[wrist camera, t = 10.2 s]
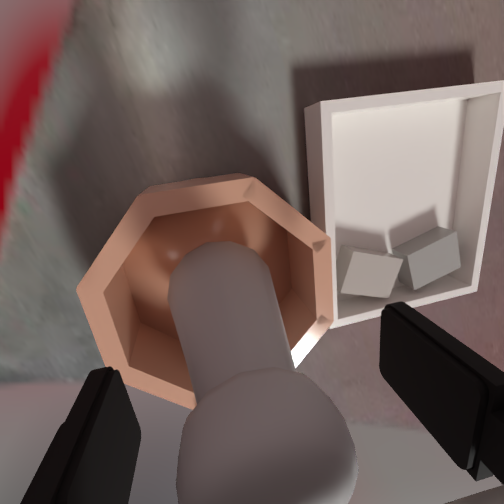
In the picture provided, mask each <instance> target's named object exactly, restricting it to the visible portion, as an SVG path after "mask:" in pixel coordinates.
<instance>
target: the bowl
mask: <svg viewBox="0 0 504 504" xmlns="http://www.w3.org/2000/svg"><path fill="white" fill-rule="evenodd" d="M221 241H232V242H234V243H237V244H240V245H243V246H246V247H248V248H251V249H253V250H255V251H256V253H257V254H258V255H259V256H260V257H261V259H262V260H263V261H264V262H265V263H266V264H267V266H268V267H269V270H270V274H271V278H272V282H273V286H274V290H275V293H276V297H277V301H278V305H279V309H280V312H281V316H282V320H283V324H284V327H285V331H286V335H287V339H288V342H289V346H290V350H291V354H292V357H293V361H294V365H295V368H296V367H297V366H298V364H299V363H300V362H301V361H302V360H303V358H304V357H305V356H306V355H307V354H308V352H309V351H310V350H311V349H312V347H313V346H314V345H315V344H316V343H317V341H318V340H319V339H320V338H321V337H322V335H323V334H324V333H325V332H326V330H327V329H328V328H329V327H330V326H331V324H332V323H333V321H334V314H333V286H332V257H331V238H330V237H329V236H328V235H327V234H325V233H324V232H323V231H322V230H320V229H319V228H318V227H317V226H315V225H314V224H313V223H312V222H310V221H309V220H308V219H307V218H305V217H304V216H303V215H302V214H300V213H299V212H298V211H297V210H295V209H294V208H293V207H292V206H290V205H289V204H288V203H287V202H285V201H284V200H283V199H282V198H280V197H279V196H278V195H277V194H275V193H274V192H273V191H272V190H270V189H269V188H268V187H267V186H265V185H264V184H263V183H262V182H260V181H259V180H258V179H257V178H255V177H252V176H248V175H245V174H241V173H233V174H226V175H219V176H213V177H203V178H194V179H189V180H184V181H180V182H173V183H166V184H160V185H153V186H149V187H148V188H147V189H145V190H144V191H143V192H142V193H140V194H139V195H138V196H137V197H136V199H135V200H134V202H133V203H132V205H131V206H130V208H129V209H128V211H127V212H126V214H125V215H124V217H123V218H122V220H121V221H120V223H119V224H118V226H117V227H116V229H115V230H114V232H113V233H112V235H111V236H110V238H109V239H108V241H107V242H106V244H105V245H104V247H103V248H102V250H101V252H100V253H99V255H98V256H97V258H96V259H95V261H94V262H93V264H92V265H91V267H90V268H89V270H88V271H87V273H86V274H85V276H84V277H83V279H82V280H81V282H80V283H79V285H78V286H77V289H76V291H77V293H78V296H79V299H80V301H81V304H82V306H83V309H84V312H85V314H86V317H87V319H88V322H89V325H90V327H91V330H92V332H93V335H94V338H95V340H96V343H97V346H98V348H99V351H100V353H101V356H102V359H103V361H104V364H105V366H106V367H109V366H111V367H112V368H113V369H114V370H116V369H117V370H119V372H120V374H121V377H122V380H123V382H124V384H127V385H129V386H132V387H134V388H137V389H140V390H142V391H145V392H148V393H150V394H153V395H155V396H158V397H161V398H163V399H166V400H169V401H171V402H174V403H176V404H179V405H182V406H184V407H187V408H190V409H192V410H193V409H194V408H195V407H196V406H197V402H196V399H195V395H194V391H193V387H192V383H191V379H190V375H189V371H188V367H187V364H186V360H185V356H184V353H183V350H182V346H181V343H180V340H179V336H178V333H177V330H176V326H175V323H174V320H173V316H172V313H171V310H170V306H169V303H168V300H167V297H168V289H169V281H170V275H171V274H172V272H173V271H174V269H175V268H176V267H177V265H178V264H179V263H180V261H181V260H182V259H183V257H184V256H185V255H186V254H187V253H189V252H191V251H192V250H194V249H196V248H198V247H199V246H201V245H203V244H205V243H206V242H221Z"/></svg>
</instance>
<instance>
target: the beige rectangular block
mask: <svg viewBox="0 0 504 504" xmlns="http://www.w3.org/2000/svg"><path fill="white" fill-rule="evenodd" d="M402 262H403V259H402V258H399V257H397V256H395V255H393V254H391V253H389V252H384V251H378V250H372V249H366V248H360V247H354V246H348V245H342V244H341V247H340V250H339V253H338V257H337V260H336V278H337V290H338V291H339V292H340V293H345V294H354V295H363V296H372V297H380V298H389V296H390V294H391V291H392V289H393V286H394V283H395V281H396V278H397V275H398V273H399V270H400V267H401V265H402Z"/></svg>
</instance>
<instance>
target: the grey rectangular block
mask: <svg viewBox="0 0 504 504" xmlns="http://www.w3.org/2000/svg"><path fill="white" fill-rule="evenodd" d="M392 253H393V255H395V256H397V257H399V258H402V259H403V262H402V265H401V267H400V270H399V273H398V280H399V282H400V283H402V284H404V285H406V286H407V287H409V288H411V289H412V290H414V291H415V290H417V289H419V288H421V287H422V286H424V285H426V284H428V283H430V282H432V281H434V280H436V279H438V278H440V277H442V276H444V275H446V274H448V273H450V272H452V271H454V270H456V269H458V268H460V267H461V262H460V254H459V246H458V237H457V231H454V230H450V229H446V228H443V227H439V226H437V227H435V228H433V229H431V230H429V231H427V232H425V233H423V234H421V235H419V236H417V237H415V238H413V239H411V240H409V241H407V242H405V243H403V244H401V245H399V246H396V247H394V248H392Z"/></svg>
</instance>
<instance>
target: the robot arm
mask: <svg viewBox="0 0 504 504" xmlns="http://www.w3.org/2000/svg"><path fill="white" fill-rule="evenodd" d="M379 368H380V372H381V374H382V376H383V378H384V379H385V380H386V381H387V382H388V384H389V385H390V386H391V387H392V388H393V390H394V391H395V392H396V393H397V394H398V396H399V397H400V398H401V399H402V400H403V402H404V403H405V404H406V405H407V406H408V407H409V409H410V410H411V411H412V412H413V413H414V415H415V416H416V417H417V418H418V419H419V421H420V422H421V423H422V424H423V425H424V427H425V428H426V429H427V430H428V431H429V432H430V434H431V435H432V436H433V437H434V438H435V439H436V441H437V442H438V443H439V444H440V446H441V447H442V448H443V449H444V450H445V452H446V453H447V454H448V455H449V456H450V457H451V459H452V460H453V461H454V462H455V463H456V464H457V466H458V467H460V468H461V469H464V470H465V469H466V470H467V472H468V473H469V474H470V475H471V476H472V477H473V479H474V480H475V481H479V480H481V479H485V478H488V477H491V476H493V474H494V475H495V477H496V478H497V479H498V480H499V481H500V482H501V483H502V486H499V487H496V488H493V489H489V490H486V491H482V492H479V493H476V494H473V495H470V496H467V497H464V498H461V499H458V500H454V501H452V502H448V503H445V504H504V372H503V371H501V370H500V369H498V368H497V367H496V366H494V365H493V364H491V363H490V362H489V361H487V360H486V359H484V358H483V357H481V356H480V355H479V354H477V353H476V352H474V351H473V350H471V349H470V348H469V347H467V346H466V345H464V344H463V343H462V342H460V341H459V340H457V339H456V338H454V337H453V336H452V335H450V334H449V333H447V332H446V331H445V330H443V329H442V328H440V327H439V326H437V325H436V324H435V323H433V322H432V321H430V320H429V319H428V318H426V317H425V316H423V315H422V314H420V313H419V312H418V311H416V310H415V309H413V308H412V307H410V306H409V305H408V304H406V303H405V302H403V301H400V302H395V303H391V304H387V305H385V307H384V309H383V310H382V311H381V331H380V363H379ZM140 441H141V430H140V426H139V423H138V421H137V418H136V415H135V412H134V410H133V407H132V404H131V402H130V399H129V396H128V393H127V390H126V388H125V385H124V382H123V380H122V377H121V374H120V372H119V370H117V369H116V370H114V369H113V368H112V367H111V366H109V367H104V368H100V369H95V370H92V371H90V373H89V375H88V377H87V379H86V381H85V383H84V385H83V387H82V389H81V391H80V393H79V395H78V397H77V399H76V401H75V403H74V405H73V407H72V409H71V411H70V413H69V415H68V417H67V419H66V421H65V422H64V423H63V424H62V425H61V426H60V428H59V429H58V431H57V433H56V435H55V437H54V439H53V441H52V443H51V444H50V446H49V448H48V451H47V452H46V454H45V456H44V458H43V460H42V462H41V464H40V466H39V468H38V470H37V472H36V474H35V476H34V478H33V480H32V482H31V484H30V486H29V488H28V490H27V492H26V493H25V495H24V497H23V499H22V501H21V503H20V504H128V501H129V496H130V491H131V486H132V481H133V476H134V471H135V466H136V461H137V456H138V451H139V446H140Z"/></svg>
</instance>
